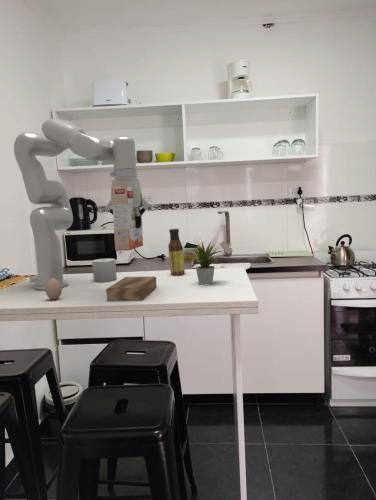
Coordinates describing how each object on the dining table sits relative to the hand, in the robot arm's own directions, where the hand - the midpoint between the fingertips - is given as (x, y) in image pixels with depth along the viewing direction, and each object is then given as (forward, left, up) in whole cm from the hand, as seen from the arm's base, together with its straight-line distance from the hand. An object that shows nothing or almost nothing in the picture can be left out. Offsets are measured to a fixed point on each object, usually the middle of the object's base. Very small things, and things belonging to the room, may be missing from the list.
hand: (128, 227), depth 142 cm
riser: (0, 0, -23) cm, 23 cm away
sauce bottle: (+9, +36, -23) cm, 44 cm away
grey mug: (-20, +27, -23) cm, 41 cm away
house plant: (+24, +15, -23) cm, 37 cm away
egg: (-26, -7, -23) cm, 36 cm away
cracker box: (0, 0, -7) cm, 7 cm away
